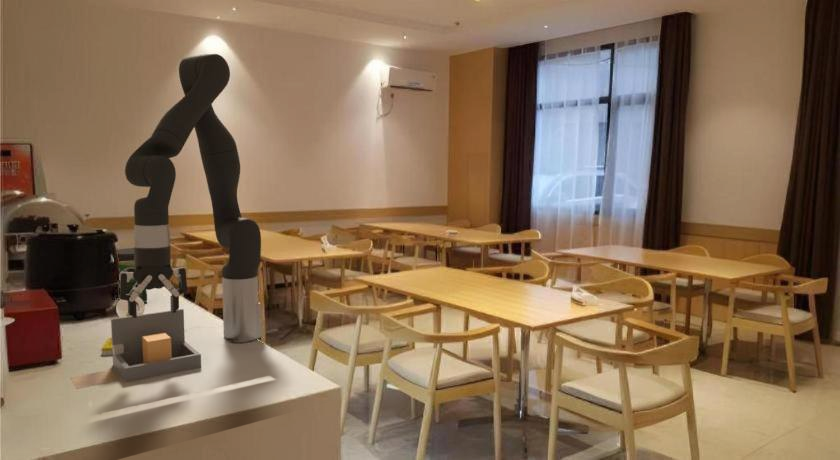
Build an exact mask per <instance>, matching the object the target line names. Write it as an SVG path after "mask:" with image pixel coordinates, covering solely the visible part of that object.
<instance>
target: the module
mask: <svg viewBox="0 0 840 460" xmlns="http://www.w3.org/2000/svg"><path fill="white" fill-rule="evenodd" d="M142 346H143V364H144V363H149V362H155V361H160V360H166V359H171V358H172V352H171V338H170V337H169V336H168V335H167V334H166V333H160V334H154V335H148V336H142Z"/></svg>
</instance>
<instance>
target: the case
mask: <svg viewBox="0 0 840 460" xmlns="http://www.w3.org/2000/svg"><path fill="white" fill-rule="evenodd" d="M184 310H185V309H184V308H180V309H178V310H176V313H172V312H171V310H165V311H158V312H153V313H152V312H151V313H150V312H149V313H143V314H142V315H137V317H136V318H132V316H128V317H121V318H120V317H116V318H110V327H111V328H110V329H111V330H110V331H111V338H112V353H113V354H112V366H113V367H114V369H115V370H116V371H117V373H118V374H119V375H120V376H121V378H122V379H123V380H124V382H125V383H129V382H135V381H139V380H143V379H144V380H145V379H149V378H153V377H158V376H159V377H160V376H163V375H168V374H169V375H170V374H174V373H178V372H183V371H184V372H185V371H188V370H192V369H198V368H201V367H202V354H201V353H200V352H199V351H197V350H196V349H195V348H194V347H192V346H191V345H190V343H188V342H187V341H185V338H186V337H185V315H184V314H185V311H184ZM160 333H166V334H167V335H168V336H169V337H170V338H171V352H172V358H171V359H166V360H160V361H155V362H149V363H144V364H143V346H142V336H148V335H154V334H160Z"/></svg>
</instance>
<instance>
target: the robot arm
mask: <svg viewBox="0 0 840 460" xmlns="http://www.w3.org/2000/svg"><path fill="white" fill-rule="evenodd" d="M178 65H179V67H178V75H179V76H178V77H179V81H180V85H181V88H182V91H183V94H184V96H183V97H182V98H181V99H180V100H179V101H178V102H176V103H175V104H174V105H173V106H172V107H170V109H169V110H167V111H166V113H164V115H163V116H162V117H161V119H160V120H159V122H158V124H157V125H156V127H155V129H154V130H153V132H152V134H151V135H150V137H149V138H148V139H146V141H144V142H143V143H142V144H141V145H140V146H139V147H137V149H136V150H134V152H133V153H132V154H131V155H130V156H129V158H128V159H127V161H126V163H125V166H124V167H125V169H124V175H125V178H126V180H127V181H128V182H129V184H131V185H132V186H135V187H142V188H144V187H145V188H149V190H148V194H147V196H145V197H141V198H138V199H136V200H135V202H134V204H133V207H134V208H133V215H134V229H133V248H134V266H135V267H134V271H133V272H123V271H121V272H120V273H119V282H118V297H119V298H120V299H121V300H127V301H128V313H129V315H130V316H132V318H136V317H137V310H136V301H135V299H136V298H137V297H138V295H139V294H140V293H141V292H142V291H143V290H144V289H146V291H149V290H153V289H159V290H160V289H162V288H165V289H166V290H167V291H168V292H169V293H170V294H171V295H170V311H171V312H172V313H176V310H178V309H179V308H180V297H181V295H183V294H186V293H188V281H187V270H186V268H184V267H182V266H178V267H176V268H175V267H174V268H172V265H171V264H172V261H171V260H172V259H171V257H172V255H171V243H172V239H171V231H170V224H169V221H170V219H169V218H170V217H169V214H170V213H169V206H170V201H171V197H172V195H173V191H174V187H175V183H176V178H177V177H176V176H177V174H176V173H177V172H176V167H175V164H174V163H173V161H172V160H171V158H175V157H177V156H178V155H179V154H180V153H181V151H182V149H183V148H184V146H185V144H186V143H187V140H188V139H189V138H190V135H191V134H192V131H193V130H194V131H195V134H196V135H195V136H196V137H197V138H196V139H197V143H198V148H199V153H200V158H201V164H202V167H203V171H204V173H205V178H206V183H207V189H208V192H209V196H210V201H211V207H212V216H213V224H214V226H213V227H214V233H215V237H216V240H217V243H218V244H219V246H221V247H222V248H223V249H226V250H229V254H228V262H227V264H224V265H223V266H222V268H221V277H222V278H221V280H222V281H221V282H222V286H221V287H222V289H221V290H222V318H223V322H222V323H223V325H222V326H223V339H224V340H226V341H227V342H229V343H238V344H239V343H248V342H252V341H255V340H257V339H260V338H262V337H263V335H262V329H263V328H262V304H261V302H259V290H258V289H259V282H258V281H259V280H258V279H259V278H258V272H259V271H258V270H259V268H260V265H261V259H262V256H261V254H262V234H261V230H260V226H259V225H258V223H257V222H256V221H255V220H253V219H251V218H249V217H242V213H241V209H240V206H239V202H238V187H239V181H240V176H241V161H240V156H239V151H238V148H237V143H236V141H235V139H234V137H233V135H232V134H231V133H230V130H228V128H227V127H226V126H225V125H224V124H223V122H222V121H221V120H220V118H219V117H218V115H217V114H216V112H215V109H214V108H213V107H214V106H213V103H214V102H215V100H217V98H219V96H220V95H221V93H222V92H224V90H225V89H226V87H227V86H228V84H229V81H230V79H231V78H230V77H231V71H230V65H229V64H228V62H227V60H226V59H225V58H224V57H223V56H222V55H220V54H218V53H214V52H213V53H212V52H211V53H203V54H196V55H190V56H186V57H184V58H182V59H181V61H180V63H179V64H178ZM173 275H175V276H174V277H176V278H177V280H178V282H177V283H178V288H175V286H174V285H173V284H172V283H171V281H170V280H171V277H172V276H173ZM131 277H133V278H134V279H135V280H136V281H137V283H136V284H135V285H134V287H133V288H132V290H131V292H130V293H129V294H126V291H127V282H129V281H130V278H131Z"/></svg>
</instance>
